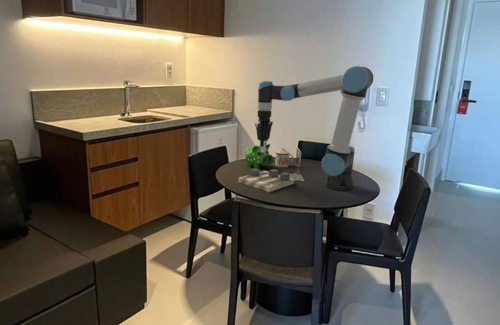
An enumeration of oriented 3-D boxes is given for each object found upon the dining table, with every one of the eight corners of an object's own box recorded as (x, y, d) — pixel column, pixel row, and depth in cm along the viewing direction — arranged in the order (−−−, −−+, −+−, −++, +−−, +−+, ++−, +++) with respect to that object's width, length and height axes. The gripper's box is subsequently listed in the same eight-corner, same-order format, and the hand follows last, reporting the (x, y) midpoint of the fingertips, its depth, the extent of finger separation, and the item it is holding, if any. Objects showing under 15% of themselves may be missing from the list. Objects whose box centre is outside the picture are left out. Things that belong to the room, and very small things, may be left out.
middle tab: (278, 175, 209) (278, 170, 208) (273, 177, 206) (273, 171, 205) (273, 174, 211) (273, 169, 210) (268, 175, 208) (269, 170, 207)
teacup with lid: (277, 167, 236) (278, 150, 233) (273, 164, 245) (274, 146, 242) (295, 167, 239) (296, 149, 236) (290, 163, 248) (291, 146, 245)
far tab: (259, 175, 209) (259, 169, 208) (254, 176, 206) (255, 170, 205) (255, 173, 211) (255, 168, 211) (250, 174, 209) (250, 169, 208)
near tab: (289, 179, 204) (289, 173, 203) (284, 180, 201) (285, 175, 200) (284, 177, 206) (284, 172, 205) (279, 179, 203) (280, 173, 202)
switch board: (294, 183, 206) (294, 178, 205) (268, 192, 190) (269, 186, 189) (264, 174, 220) (264, 170, 219) (238, 182, 204) (238, 177, 203)
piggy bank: (258, 172, 225) (259, 148, 221) (240, 165, 238) (240, 142, 235) (275, 168, 234) (276, 145, 230) (256, 162, 247) (257, 140, 243)
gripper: (266, 108, 208) (265, 149, 214) (251, 110, 199) (250, 152, 205) (277, 109, 203) (275, 151, 209) (262, 111, 194) (260, 155, 200)
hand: (263, 152), depth 207 cm, fingers closed
